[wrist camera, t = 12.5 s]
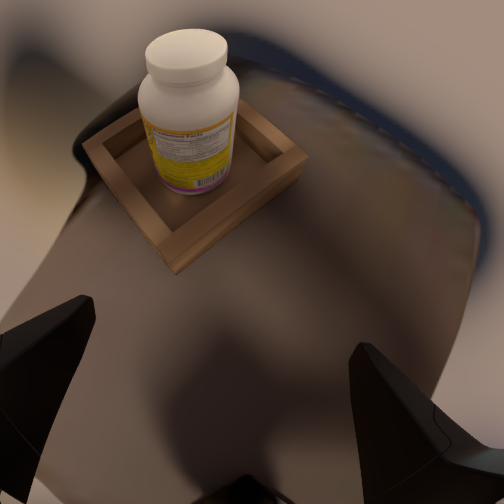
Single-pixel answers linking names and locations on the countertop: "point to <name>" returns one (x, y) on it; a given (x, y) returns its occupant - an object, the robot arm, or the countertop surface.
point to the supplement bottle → (189, 109)
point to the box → (194, 206)
